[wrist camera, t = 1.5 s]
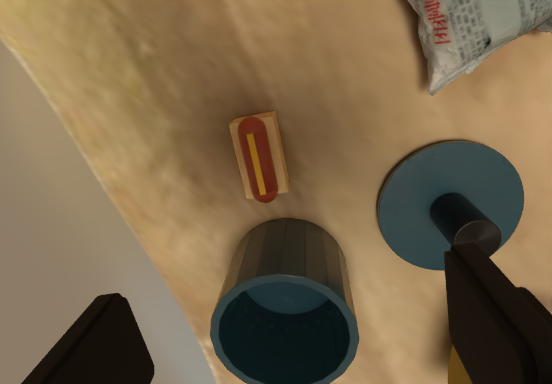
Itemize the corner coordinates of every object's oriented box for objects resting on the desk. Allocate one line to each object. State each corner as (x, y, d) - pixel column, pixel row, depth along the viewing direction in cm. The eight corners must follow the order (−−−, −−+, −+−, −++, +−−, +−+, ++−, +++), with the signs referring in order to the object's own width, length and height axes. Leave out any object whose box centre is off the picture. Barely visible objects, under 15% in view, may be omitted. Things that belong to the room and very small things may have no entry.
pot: (221, 227, 32) (193, 285, 24) (337, 210, 31) (347, 264, 23) (247, 321, 35) (229, 398, 27) (352, 308, 34) (366, 387, 26)
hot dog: (234, 114, 28) (222, 123, 25) (274, 106, 28) (269, 114, 24) (252, 191, 31) (244, 210, 27) (290, 185, 30) (288, 203, 26)
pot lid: (368, 152, 29) (384, 177, 23) (517, 126, 27) (574, 146, 21) (383, 271, 32) (399, 317, 27) (515, 254, 31) (563, 300, 25)
